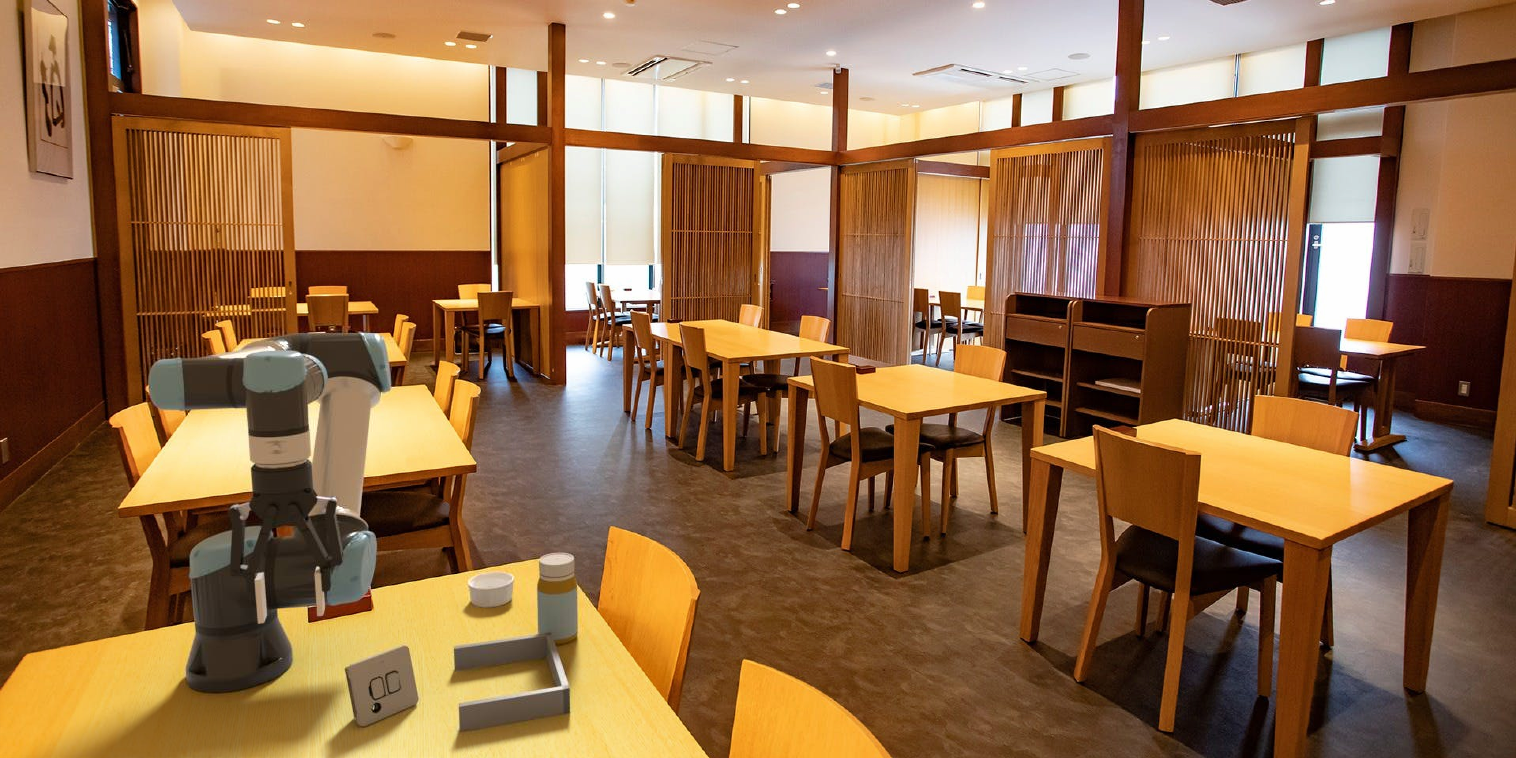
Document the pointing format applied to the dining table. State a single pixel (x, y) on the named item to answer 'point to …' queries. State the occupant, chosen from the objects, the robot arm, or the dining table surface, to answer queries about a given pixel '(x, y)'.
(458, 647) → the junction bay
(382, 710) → the electrical switch
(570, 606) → the bottle
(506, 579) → the ramekin
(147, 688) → the dining table surface
